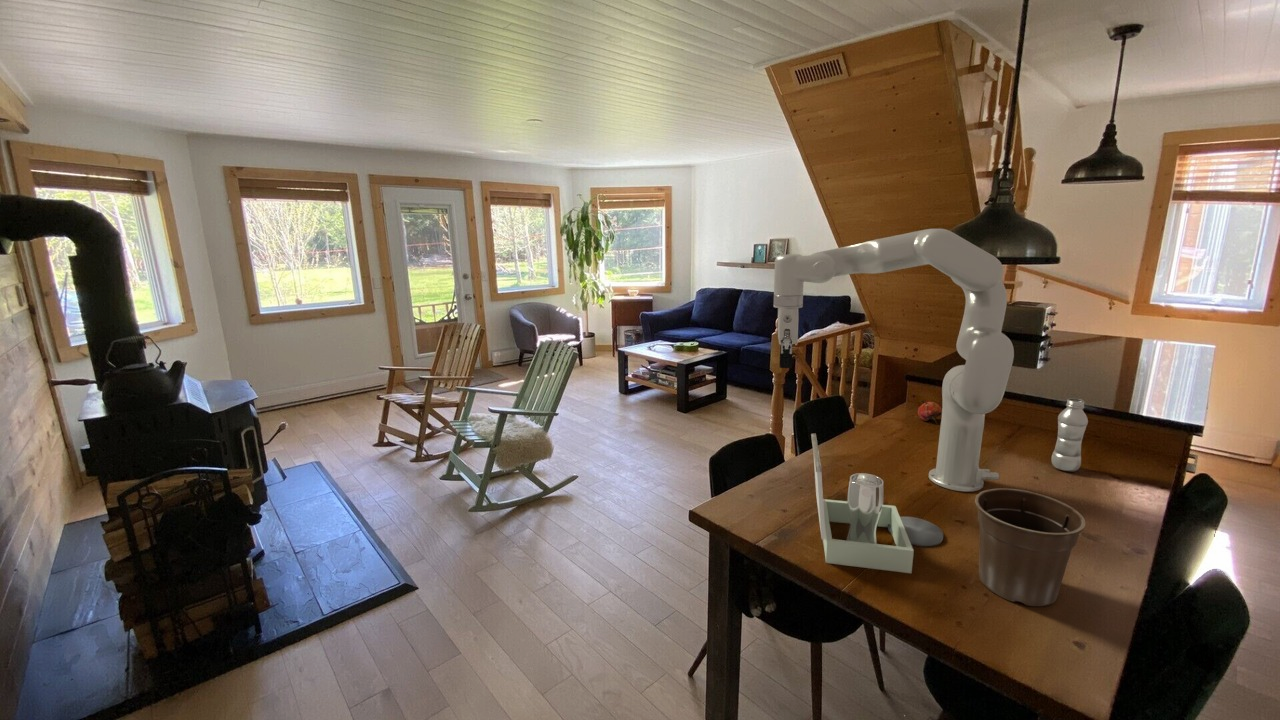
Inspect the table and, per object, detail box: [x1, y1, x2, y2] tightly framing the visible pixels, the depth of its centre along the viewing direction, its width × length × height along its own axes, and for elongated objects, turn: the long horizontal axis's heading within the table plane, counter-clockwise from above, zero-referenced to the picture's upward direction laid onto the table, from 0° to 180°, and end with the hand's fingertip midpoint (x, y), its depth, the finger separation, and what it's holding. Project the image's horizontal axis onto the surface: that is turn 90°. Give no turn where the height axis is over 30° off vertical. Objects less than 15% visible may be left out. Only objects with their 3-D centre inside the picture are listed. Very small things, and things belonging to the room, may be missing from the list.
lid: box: [810, 433, 826, 541], centre depth 115 cm, size 16×18×1 cm
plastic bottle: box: [1051, 397, 1089, 472], centre depth 145 cm, size 6×7×20 cm
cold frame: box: [822, 498, 915, 574], centre depth 115 cm, size 16×18×5 cm
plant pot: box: [974, 488, 1086, 607], centre depth 98 cm, size 16×16×16 cm
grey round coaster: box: [887, 516, 944, 547], centre depth 119 cm, size 11×11×1 cm
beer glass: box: [846, 472, 884, 544], centre depth 113 cm, size 7×7×15 cm
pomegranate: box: [917, 400, 942, 425], centre depth 186 cm, size 7×7×10 cm
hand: (785, 363), depth 146 cm, fingers open, 9 cm apart
